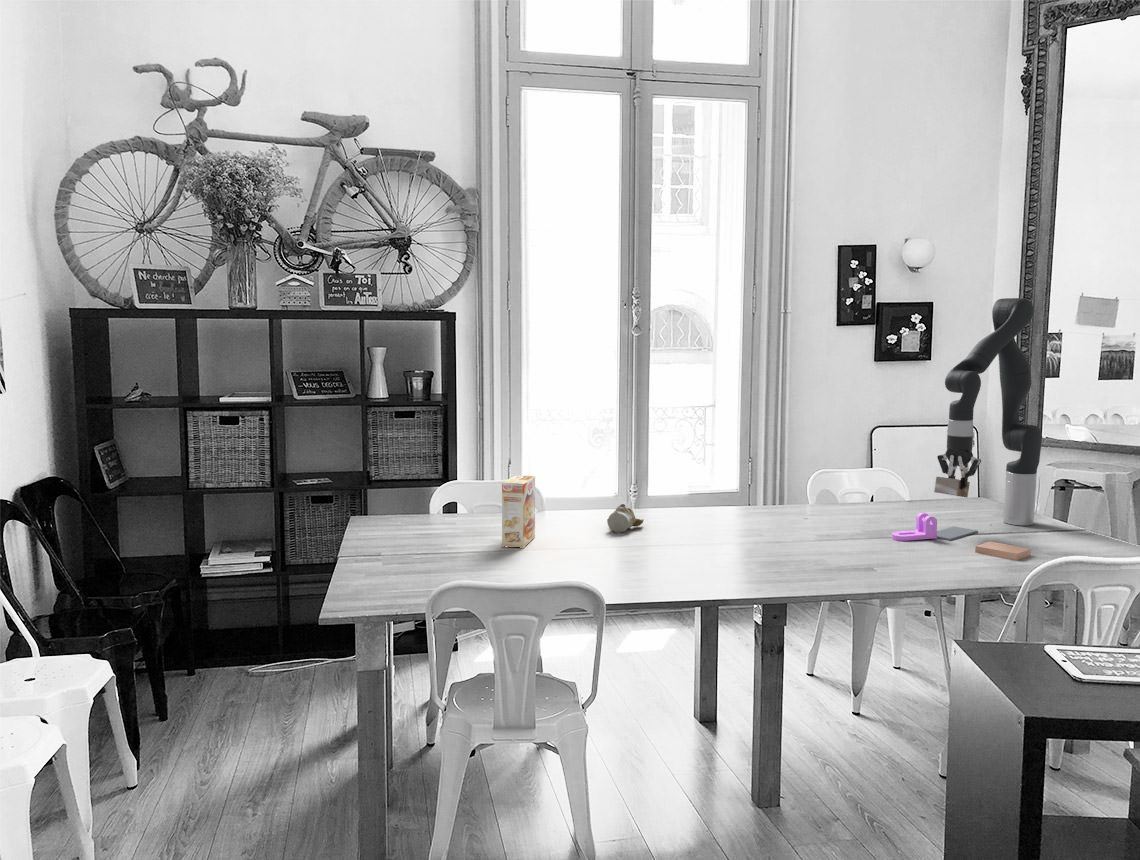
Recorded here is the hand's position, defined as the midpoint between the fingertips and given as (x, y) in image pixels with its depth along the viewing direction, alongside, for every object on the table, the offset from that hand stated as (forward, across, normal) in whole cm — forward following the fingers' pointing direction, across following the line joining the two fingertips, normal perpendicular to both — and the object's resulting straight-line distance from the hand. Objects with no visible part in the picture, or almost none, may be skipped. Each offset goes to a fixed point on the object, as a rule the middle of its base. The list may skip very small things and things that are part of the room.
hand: (957, 488), depth 297 cm
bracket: (+15, +5, +17) cm, 23 cm away
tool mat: (+15, 0, +2) cm, 15 cm away
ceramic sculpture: (+15, +72, +77) cm, 107 cm away
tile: (+14, -22, +10) cm, 28 cm away
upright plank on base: (+2, 0, +2) cm, 3 cm away
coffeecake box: (+15, +79, +114) cm, 140 cm away
